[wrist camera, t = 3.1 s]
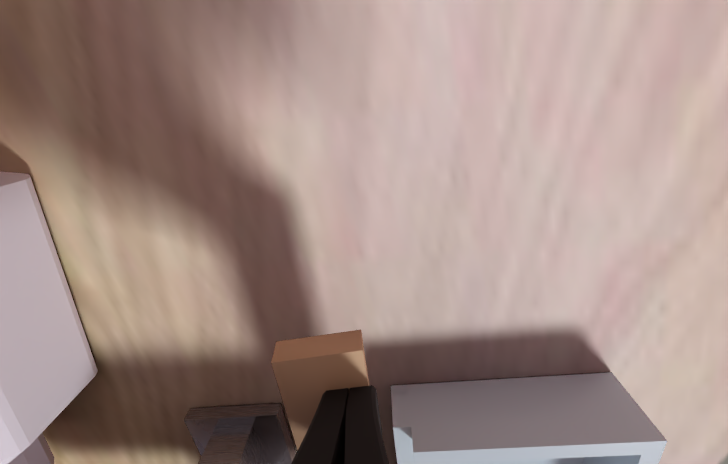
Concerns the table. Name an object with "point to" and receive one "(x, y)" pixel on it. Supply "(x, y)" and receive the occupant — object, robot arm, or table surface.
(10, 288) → the charger
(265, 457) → the fulcrum
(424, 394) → the dish
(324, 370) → the lever
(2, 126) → the table surface
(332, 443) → the robot arm
